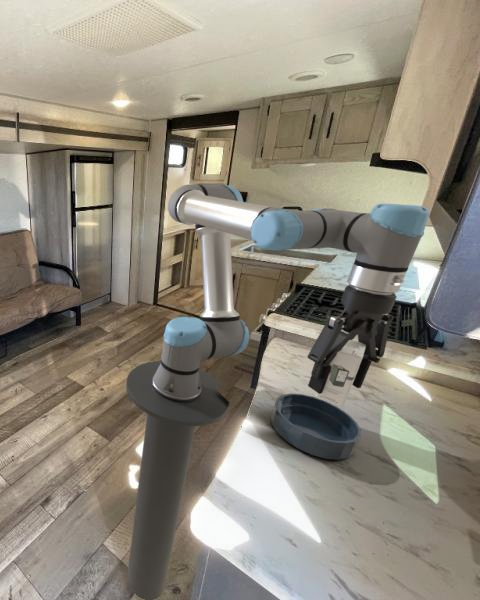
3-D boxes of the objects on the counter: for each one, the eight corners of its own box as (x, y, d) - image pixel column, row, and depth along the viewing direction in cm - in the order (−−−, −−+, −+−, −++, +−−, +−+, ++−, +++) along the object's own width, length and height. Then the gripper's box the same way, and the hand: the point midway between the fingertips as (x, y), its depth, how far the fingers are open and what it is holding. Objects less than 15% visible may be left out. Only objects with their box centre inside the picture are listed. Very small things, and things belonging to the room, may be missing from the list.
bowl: (255, 415, 91) (260, 398, 89) (307, 406, 96) (312, 390, 93) (311, 468, 75) (319, 448, 73) (371, 455, 79) (380, 436, 77)
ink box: (321, 380, 74) (338, 334, 70) (348, 389, 71) (367, 342, 67) (314, 396, 68) (331, 348, 64) (343, 408, 65) (363, 357, 61)
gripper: (343, 299, 55) (306, 404, 63) (438, 292, 60) (392, 391, 68) (306, 285, 62) (277, 382, 70) (394, 280, 67) (357, 372, 75)
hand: (334, 386), depth 69 cm, fingers closed on ink box, 9 cm apart
